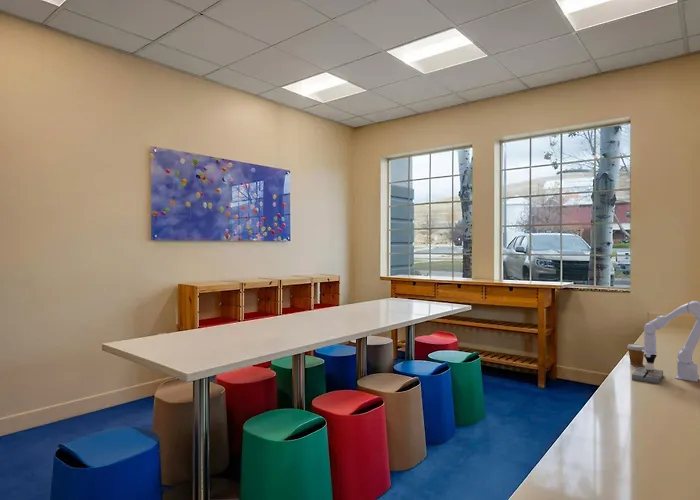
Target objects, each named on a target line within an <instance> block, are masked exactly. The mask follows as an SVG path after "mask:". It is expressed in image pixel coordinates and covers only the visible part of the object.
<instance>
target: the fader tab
mask: <svg viewBox="0 0 700 500" xmlns="http://www.w3.org/2000/svg"><path fill="white" fill-rule="evenodd" d="M654 364H655V362H654V363H648V362H647V361H646V362H645V367H644V368H645V369H647V370H649V372H650V371H651V370H654V369H655V365H654Z"/></svg>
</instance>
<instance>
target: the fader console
mask: <svg viewBox="0 0 700 500" xmlns="http://www.w3.org/2000/svg"><path fill="white" fill-rule="evenodd" d="M663 377H664V370H663V369H662V370H661V369H655V368H654V370H651V371H650V372H649V370H647V369H645V367H641V366H638V367H637V368H636V369H635V370H634V371H633V372H632V373H631V380H632V381H639V382H643V383H644V382H645V383H650V384H657V385H658V384H659V383H660V382H661V381H662V378H663Z"/></svg>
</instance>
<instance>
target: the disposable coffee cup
mask: <svg viewBox="0 0 700 500" xmlns="http://www.w3.org/2000/svg"><path fill="white" fill-rule="evenodd" d="M627 350H628V355H629V362H630V365H631V366H636V365H637V366H638V367H641V366H643V363H644V358H645V357H644V354H645V353H644V352H642V350H644V344H640V343H630V344H629V343H628V344H627Z"/></svg>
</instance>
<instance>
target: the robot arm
mask: <svg viewBox="0 0 700 500" xmlns="http://www.w3.org/2000/svg"><path fill="white" fill-rule="evenodd" d="M689 313H691V314H692V315H693V316H694V318H695V319H696V321H695V323H694V324H693V327H692V328H691V329H692V330H691V331H690V333H689V335H688V337H687V339H686V341H685V343H684V345H683V347H682V348H681V349H680V350H679V351H678V354H677V361H676V362H677V363H676V366H677V367H676V369H677V372H676V373H677V375H676V377H675V379H677V380H684V381H692V382H698V380H699V378H700V375H699V364H698V363H694V361H693V353H694V351H695V349H696V346H697V345H698V343H699V340H700V301H699V300H691V301H689V302H687V303H684V304H682V305H680V306H679V307H677V308H675V309H674V310H672V311H671V312H670V313H667V314H666V315H657V316H656V318H654V319H653V320H649V321H648V322H647V323H645V325H644V326H643V331H644V334H643V343H644V344H643V346H644V350H642V352H644V358H645V361H646V362H648V363H654V364H655V361H656V357H658V355H657V354H658V352H657V336H656V331H657V330H658V331H659V330H660V329H662V328H664V327H666V326H667V325H669V324H670V321H671V320H673V319H675V318H677V317H679V316H680V315H682V314H689Z"/></svg>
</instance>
